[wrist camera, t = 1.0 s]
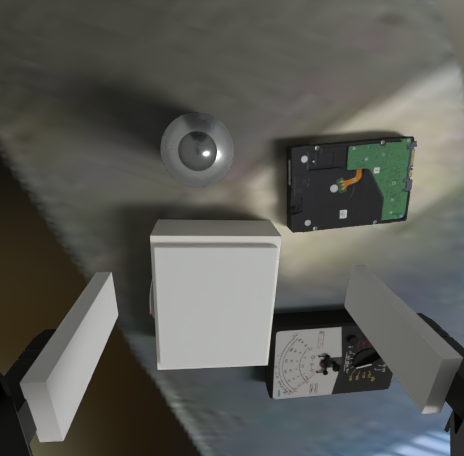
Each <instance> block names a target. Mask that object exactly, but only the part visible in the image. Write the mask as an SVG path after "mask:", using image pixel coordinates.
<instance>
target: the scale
mask: <svg viewBox="0 0 464 456" xmlns="http://www.w3.org/2000/svg"><path fill="white" fill-rule="evenodd" d="M150 244H151V261H152V278H153V279H152V282H151V287H150V313H149V314H150V315H151V314H152V317H153V318H155V329H156V346H157V363H158V370H164V369H188V368H212V367H236V366H260V365H268V358H269V348H270V339H271V329H272V320H273V311H274V301H275V292H276V282H277V273H278V264H279V254H280V245H281V235H280V234H279V232H278V231H277V229H276V228H275V227H274V225H273V224H272V222H271V221H259V220H164V219H158V220H157V222H156V224H155V227H154V229H153V231H152V233H151V235H150Z"/></svg>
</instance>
